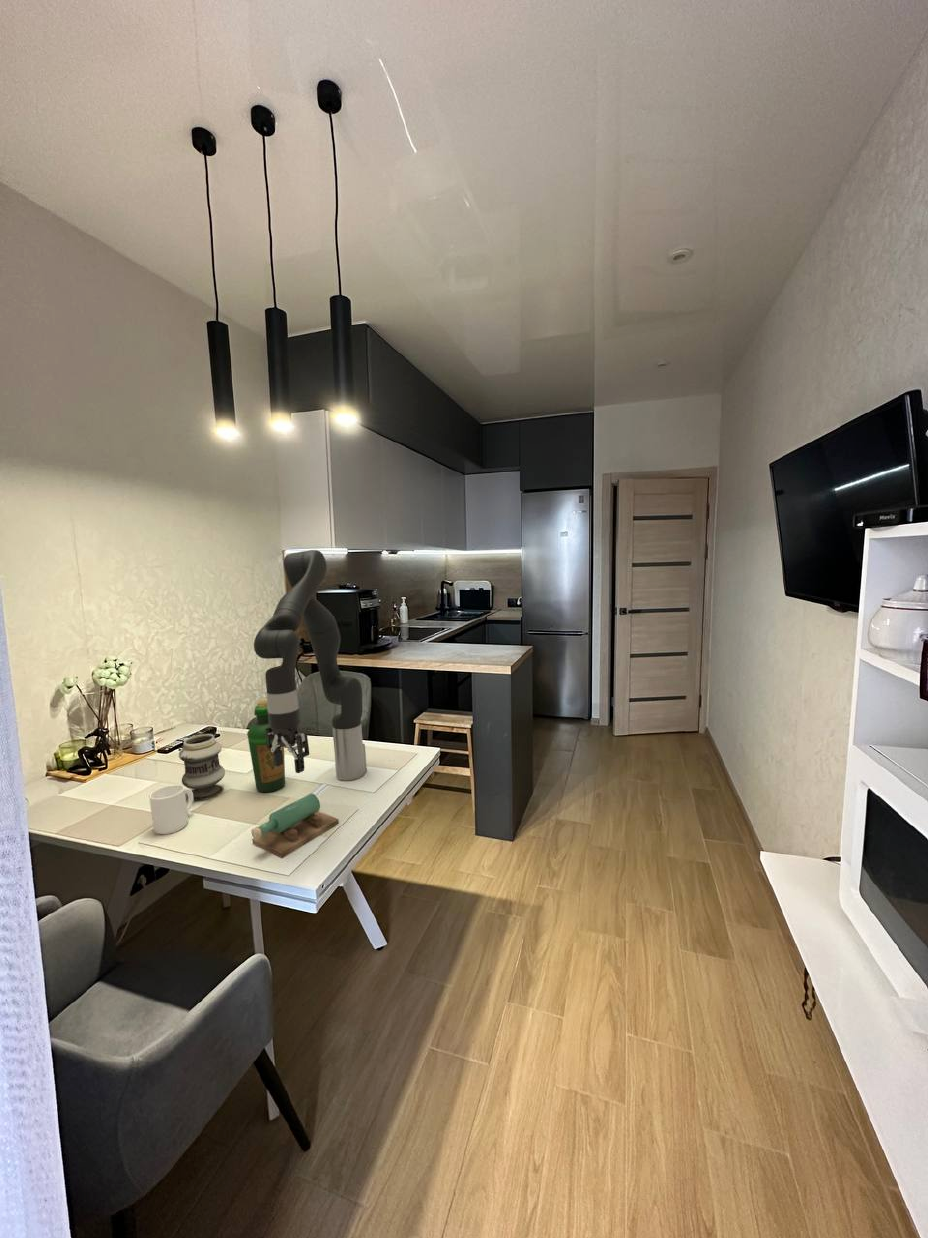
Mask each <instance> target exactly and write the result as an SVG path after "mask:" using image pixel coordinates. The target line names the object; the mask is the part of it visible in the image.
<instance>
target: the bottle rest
mask: <svg viewBox="0 0 928 1238" xmlns="http://www.w3.org/2000/svg"><path fill="white" fill-rule="evenodd" d="M339 823H340V822H339V818H336V817H333V816H331V815H328V814H326V813H324V812H322V811H321V812H320V810H319V811H318V812H316V813H314V814H313V815H311V816H309V817H307V818H306V819H304V820H302V821H300V822H298V823H297V824H295V825H293V826H291V827H289V828H288V829H286V830H284V831H282V832H280V833H275V832H274V831H273V830H272V831H270V832H269V833H267V834H265V835H263V836H262V837H261V838H259V839H258V840H255V839H254V838H253V837H252V839H251V841H252V845H255V846H256V847H259V848H261V849H263V850H265V851H267V852H268V853H271V854H273V855H275V856H277V857H278V858H281V859H282V858H284V857H286V856H287V855H289V854H291V853H292V852H295V851H296V850H297V849H300V848H301V847H302V846H304V845H307V843H309V842H311V841H312V840H314V839H316V838H317V837H319V836H320V835H322V834H324V833H325V832H327V831H329V830H330V829H332V828H334V827H336V826H337V825H338V824H339Z"/></svg>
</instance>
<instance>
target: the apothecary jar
mask: <svg viewBox="0 0 928 1238" xmlns="http://www.w3.org/2000/svg"><path fill="white" fill-rule="evenodd" d="M222 748H223V746H222V744H221V743H220V742H219V741H218V740H216V739H215V735H214V734H212V733H203V734H198V735H193V736H190V737H188V738H186V739H185V740H184V741H183V746H182V748H181V749H180V750H179V751H178V758H179V760H181V761H183V763H184V773H183V775H182V777H181V785H182V786H184V788H185V787H186V788H189V789H191V791H192V793H193V802H194V801H195V802H196V801H199V800H200V801H205V800H209V799H212V798H214V797H216V796H219V795H220V794H221V793H223V790H224V789H223V786H221V785H219V784H218V783H220V782H221V781H222V779H223V778H224V777H225V775H226V770H225V768H224V766H222V765H221V763H220V758H219V754H220V753H221V751H222Z"/></svg>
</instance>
